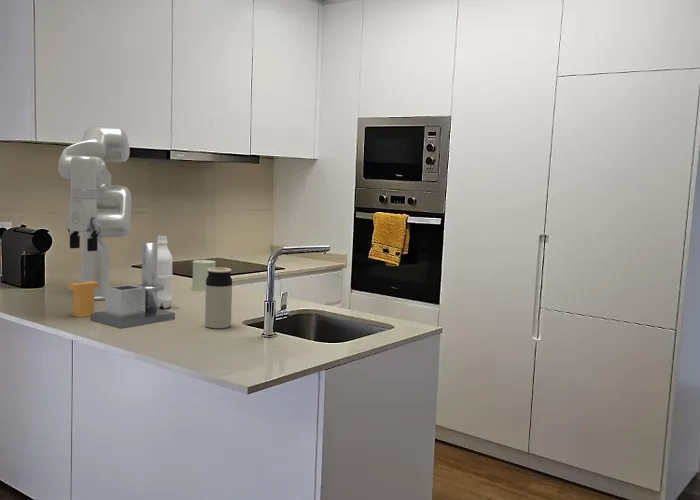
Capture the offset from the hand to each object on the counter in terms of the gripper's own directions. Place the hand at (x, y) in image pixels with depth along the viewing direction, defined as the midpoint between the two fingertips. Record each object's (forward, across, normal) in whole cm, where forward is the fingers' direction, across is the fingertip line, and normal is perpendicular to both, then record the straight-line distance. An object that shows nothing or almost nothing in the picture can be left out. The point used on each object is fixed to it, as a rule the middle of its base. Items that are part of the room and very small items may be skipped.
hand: (83, 249), depth 219 cm
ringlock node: (+21, +14, +8) cm, 27 cm away
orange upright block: (+21, 0, 0) cm, 21 cm away
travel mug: (+22, +40, +21) cm, 50 cm away
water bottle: (+21, +6, +26) cm, 34 cm away
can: (+21, -12, +61) cm, 66 cm away
